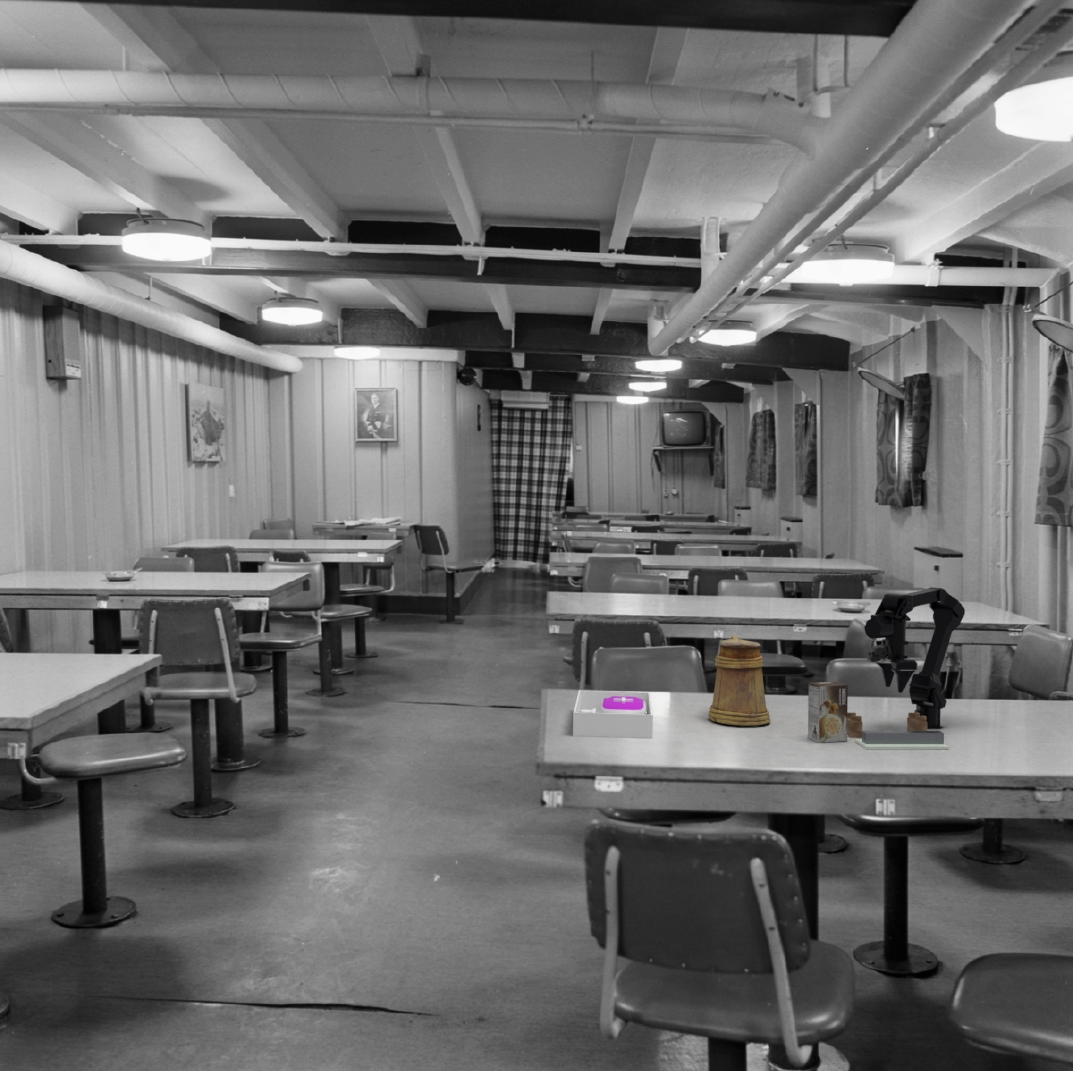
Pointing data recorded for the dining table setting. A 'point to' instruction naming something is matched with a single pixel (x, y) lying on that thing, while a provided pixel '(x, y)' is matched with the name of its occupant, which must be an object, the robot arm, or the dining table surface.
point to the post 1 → (854, 725)
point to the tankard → (739, 685)
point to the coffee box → (827, 711)
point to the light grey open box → (613, 714)
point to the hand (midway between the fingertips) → (893, 689)
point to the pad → (901, 746)
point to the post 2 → (916, 722)
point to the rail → (903, 737)
